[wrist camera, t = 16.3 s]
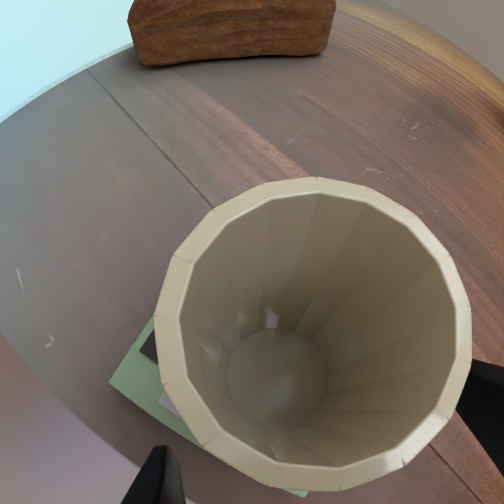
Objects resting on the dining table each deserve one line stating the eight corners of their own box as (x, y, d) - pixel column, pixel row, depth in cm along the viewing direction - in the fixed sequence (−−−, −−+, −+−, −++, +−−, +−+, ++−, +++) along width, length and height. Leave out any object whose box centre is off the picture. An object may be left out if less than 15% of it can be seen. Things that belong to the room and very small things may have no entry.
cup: (349, 358, 17) (495, 267, 6) (292, 450, 15) (383, 535, 3) (259, 304, 19) (275, 139, 7) (197, 391, 17) (90, 357, 5)
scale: (380, 338, 20) (394, 330, 18) (299, 490, 16) (306, 501, 13) (210, 250, 24) (207, 232, 21) (119, 384, 19) (103, 381, 16)
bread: (338, 65, 37) (352, -10, 26) (132, 80, 35) (113, 2, 24) (310, 29, 43) (317, -31, 33) (145, 41, 41) (133, -20, 31)
